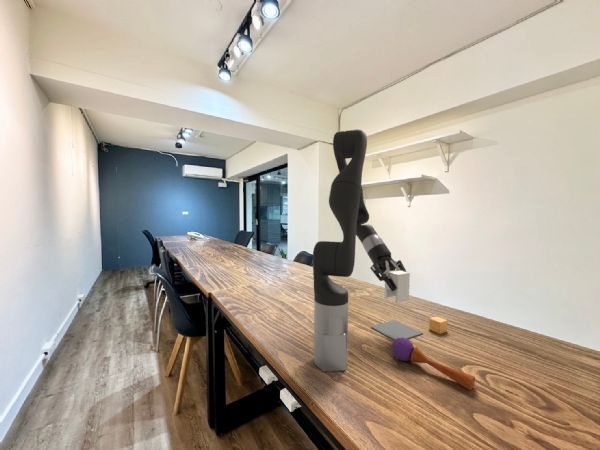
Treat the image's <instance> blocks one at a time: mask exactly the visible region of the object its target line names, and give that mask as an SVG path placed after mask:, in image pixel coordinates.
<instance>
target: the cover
mask: <svg viewBox="0 0 600 450" xmlns="http://www.w3.org/2000/svg"><path fill="white" fill-rule="evenodd" d="M388 273H389V275H390V277H391V278H390V279H392V280H393V282H394V283H395V285H396V287H397V289H396V290H395V291H392V290H391V289H390V288H389V286H388V285H387V283H386V282H384V299H388V298H392V297H393V298H394V297H395V303H397V304H399V303H404V302H408V301H410V286H409V285H410V280H411V279H410V278H411V275H410V274H411V273H410V272H407V271H406V272H404V271H400V270H399V271H398V270H396V269H395V270H391V271H390V272H388ZM385 276H386V275H385Z"/></svg>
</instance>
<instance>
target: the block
mask: <svg viewBox="0 0 600 450" xmlns="http://www.w3.org/2000/svg"><path fill="white" fill-rule="evenodd" d="M428 323H429V326H428V327H429V330H430V331H433V332H434V333H437V334H439V335H440V334H441V335H442V334H443V333H446V332H448V320H447V319H445V318H443V317H439V316H433V317H430V318H429V322H428Z"/></svg>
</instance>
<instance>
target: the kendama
mask: <svg viewBox="0 0 600 450" xmlns="http://www.w3.org/2000/svg"><path fill="white" fill-rule="evenodd" d="M391 351H392V354H393V355H394V356H395V357H396V359H398V360H400V361H403V362H408V361H411V363H414V364H428V365H429V366H430V367H432V368H434V369H435V370H437V371H438V372H440V373H442V374H443V375H445V376H446V377H448V378H450V379H451V380H452V381H454V382H456V383H457V384H459V385H460V386H462V387H463V388H465V389H467V390H469V392H471V391H472V390H473V389H474V387H475V383H476V377H475V376H474V375H472V374H469V373H466V372H463V371H461V370H458V369H455V368H452V367H450V366H448V365H445V364H442V363H439V362H437V361H434V360H431V359H429V358H428V357H427V356H426V355H425V354H424V353H423V352H422V350H421V349H419V347H418V346H416V347H414V344H413V343H412V341H411V340H409V339H406V338H397V339H395V340H393V341H392V344H391ZM472 388H473V389H472Z"/></svg>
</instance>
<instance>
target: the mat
mask: <svg viewBox="0 0 600 450" xmlns="http://www.w3.org/2000/svg"><path fill="white" fill-rule="evenodd" d="M370 328H371V329H373V330H374V331H376V332H378V333H380V334H382V335H384V336H386V337H388V338H389V339H391V340H393V341H394V340H395V339H397V338H406V339H408V340H409V339H412V338H416V337H418V336H421V335H423V332H421V331H419V330H417V329H415V328H412V327H410V326H408V325H407V324H405V323H402V322H401V321H397V320H396V319H393V320H389V321H385V322H383V323H379V324H375V325H371V326H370Z"/></svg>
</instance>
